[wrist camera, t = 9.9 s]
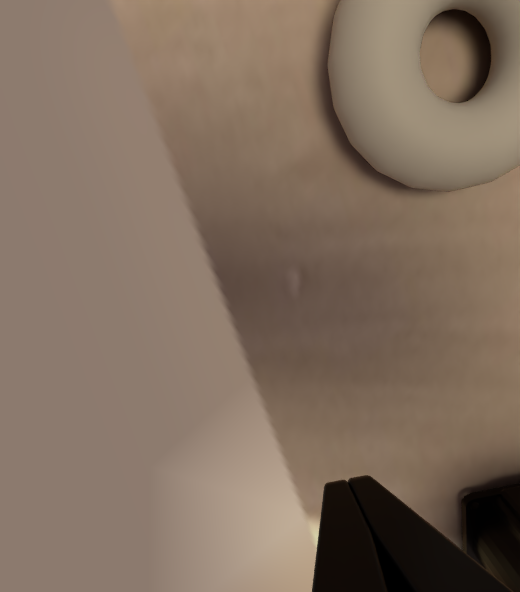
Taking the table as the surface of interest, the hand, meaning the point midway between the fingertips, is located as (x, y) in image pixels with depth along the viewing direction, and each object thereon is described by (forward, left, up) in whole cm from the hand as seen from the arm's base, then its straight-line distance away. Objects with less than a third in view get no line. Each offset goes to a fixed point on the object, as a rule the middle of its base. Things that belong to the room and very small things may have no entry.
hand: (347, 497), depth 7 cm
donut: (+8, -3, -10) cm, 13 cm away
